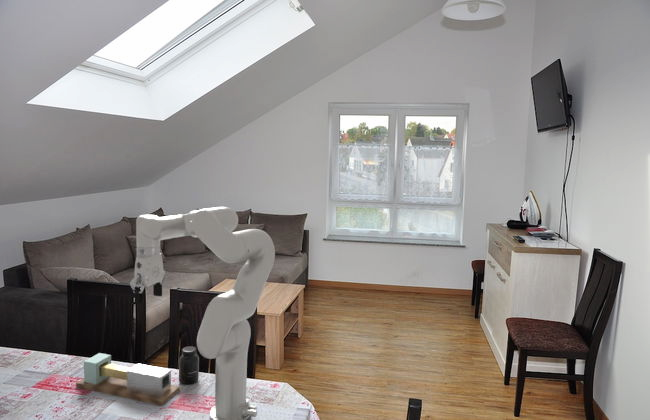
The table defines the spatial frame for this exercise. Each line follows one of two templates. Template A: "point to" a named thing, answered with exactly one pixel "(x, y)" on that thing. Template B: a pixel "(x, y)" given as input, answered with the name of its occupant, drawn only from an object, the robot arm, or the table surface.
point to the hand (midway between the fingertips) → (148, 299)
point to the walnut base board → (120, 389)
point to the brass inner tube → (113, 371)
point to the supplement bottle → (188, 366)
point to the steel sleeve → (149, 379)
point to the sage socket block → (95, 368)
